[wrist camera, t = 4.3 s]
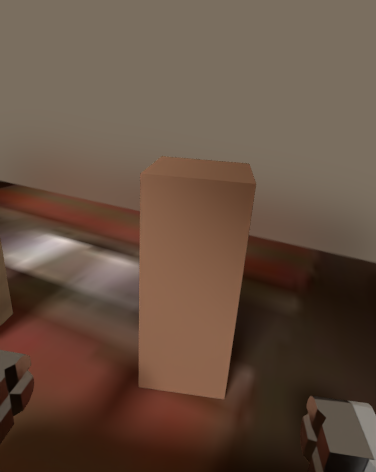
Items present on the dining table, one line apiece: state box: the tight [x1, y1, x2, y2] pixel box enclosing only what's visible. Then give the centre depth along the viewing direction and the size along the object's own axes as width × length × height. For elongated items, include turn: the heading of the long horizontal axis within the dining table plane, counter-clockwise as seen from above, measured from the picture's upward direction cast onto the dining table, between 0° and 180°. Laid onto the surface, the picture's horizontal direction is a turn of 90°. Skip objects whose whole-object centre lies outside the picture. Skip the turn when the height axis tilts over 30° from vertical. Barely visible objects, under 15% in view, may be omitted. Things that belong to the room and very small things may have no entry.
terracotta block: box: [139, 156, 256, 399], centre depth 16 cm, size 4×4×11 cm
